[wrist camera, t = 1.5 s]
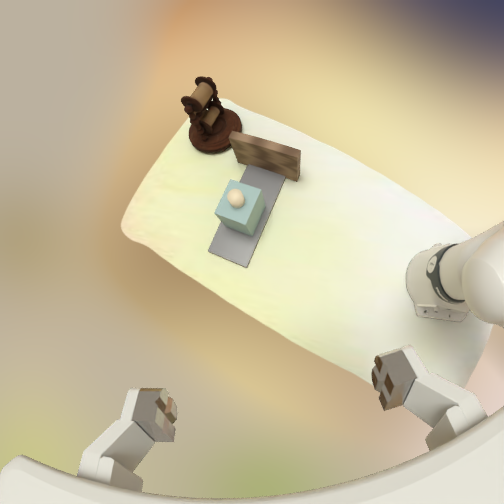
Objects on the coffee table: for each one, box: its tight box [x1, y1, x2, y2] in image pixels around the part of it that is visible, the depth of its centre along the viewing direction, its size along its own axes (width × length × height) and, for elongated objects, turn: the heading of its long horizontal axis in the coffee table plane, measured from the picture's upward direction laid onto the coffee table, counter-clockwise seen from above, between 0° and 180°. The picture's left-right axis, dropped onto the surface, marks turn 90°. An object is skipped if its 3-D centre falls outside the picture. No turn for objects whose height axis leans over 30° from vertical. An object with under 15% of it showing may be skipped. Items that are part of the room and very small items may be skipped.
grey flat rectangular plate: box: [208, 164, 286, 267], centre depth 66 cm, size 10×24×1 cm, turn 157°
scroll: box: [181, 77, 242, 152], centre depth 62 cm, size 15×15×20 cm
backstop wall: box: [229, 131, 301, 182], centre depth 62 cm, size 16×2×12 cm, turn 67°
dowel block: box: [215, 179, 266, 237], centre depth 59 cm, size 7×8×13 cm
